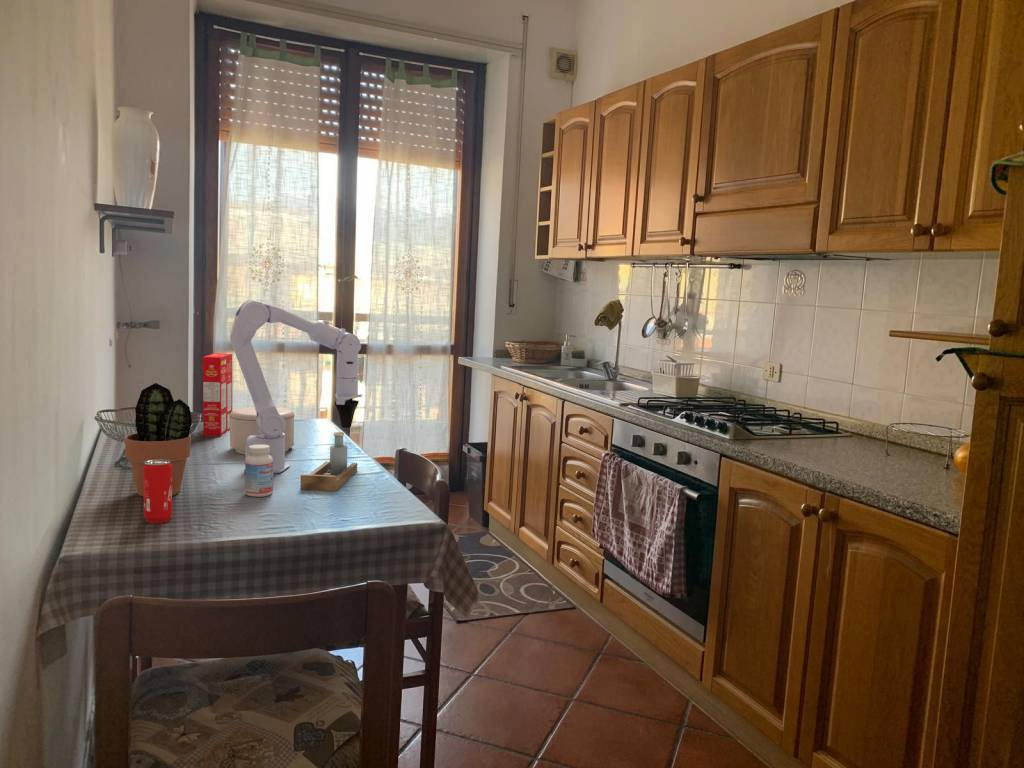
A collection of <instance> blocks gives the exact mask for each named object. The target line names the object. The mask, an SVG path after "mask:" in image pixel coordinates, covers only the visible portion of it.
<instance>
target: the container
mask: <svg viewBox="0 0 1024 768" xmlns="http://www.w3.org/2000/svg"><path fill="white" fill-rule="evenodd" d="M276 409H277V411H278V413H279V414H280V415H281V416H282V417H283V418H284V420H285V423H286V426H285V430H284V432H283V433H285V453H286V452H288V451H289V449H290V448H291V447H294V445H295V412H294V411H293V410H292V409H290V408H287V407H281V406H276ZM256 416H257V414H256V410H255V407H254V406H246V407H239V408H236V409H235V408H234V409H232V412H231V413H230V430H229V447H230V448H232V449H235V452H236V453H238V454H242V455H245V447H246V441H247V438H248V437H249V436H251V435H256V433H257V432H258V431H259V430H260V428H259V427H258V426H257V424H256Z"/></svg>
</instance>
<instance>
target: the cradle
mask: <svg viewBox="0 0 1024 768" xmlns="http://www.w3.org/2000/svg"><path fill="white" fill-rule="evenodd" d="M329 472H330V461H325V462H323V463H322V464H320V465H319V466H318V467H316V468H315V469H314V470H313V471H311V472H310V473H301V474H300V485H299V486H300V489H299V490H301V491H305V490H306V491H322V492H337V490H339V489H340V488H341V487H342V486H343V485H344V484H345V483H346V482H347V481H348V480H349V479H350V478H351V477H353V476H354V475H355V474H356V473H357V472H358V462H352V463H351V464H350V465H347V468H346V469H345V470H344V471H343V472H342V473H340V474H330V473H329Z"/></svg>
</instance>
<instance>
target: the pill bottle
mask: <svg viewBox="0 0 1024 768" xmlns="http://www.w3.org/2000/svg"><path fill="white" fill-rule="evenodd" d="M269 451H270V446H269V445H251V446H249V453H250V455H249V456H248V457H247V458H246V460H244V468H245V471H244V486H245V487H244V492H245V493H244V494H245V495H246V496H248V497H252V498H253V497H254V498H256V497H257V498H262V497H268V496H271V495H272V494H273V491H274V490H273V489H274V481H273V480H274V473H273V458H272V457H271V456H270V455H269V454H268V453H269Z"/></svg>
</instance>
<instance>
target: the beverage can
mask: <svg viewBox="0 0 1024 768" xmlns="http://www.w3.org/2000/svg"><path fill="white" fill-rule="evenodd" d="M143 488H144V497H143V517H144V519H145V520H146V523H148V524H163V522H164V523H168V522H170V521H171V518H172V516H173V495H172V465H171V463H170V461H169V460H165V459H156V460H149V461H146V462H145V464H144V466H143Z"/></svg>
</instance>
